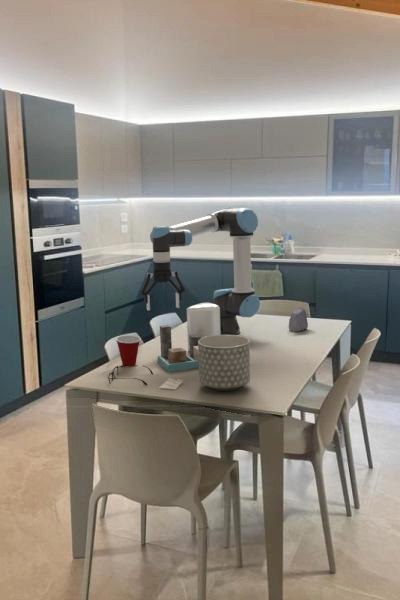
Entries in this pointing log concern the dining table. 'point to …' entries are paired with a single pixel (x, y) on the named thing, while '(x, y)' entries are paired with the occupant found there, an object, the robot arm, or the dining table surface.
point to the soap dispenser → (203, 320)
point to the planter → (224, 361)
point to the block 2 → (194, 346)
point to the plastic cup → (128, 349)
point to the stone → (298, 320)
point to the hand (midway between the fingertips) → (163, 308)
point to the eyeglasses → (124, 378)
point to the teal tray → (179, 364)
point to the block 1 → (170, 346)
